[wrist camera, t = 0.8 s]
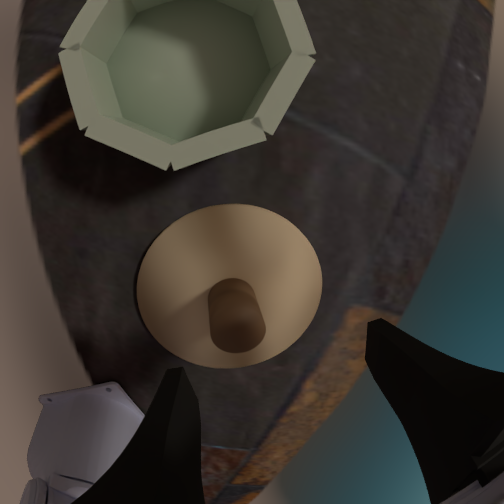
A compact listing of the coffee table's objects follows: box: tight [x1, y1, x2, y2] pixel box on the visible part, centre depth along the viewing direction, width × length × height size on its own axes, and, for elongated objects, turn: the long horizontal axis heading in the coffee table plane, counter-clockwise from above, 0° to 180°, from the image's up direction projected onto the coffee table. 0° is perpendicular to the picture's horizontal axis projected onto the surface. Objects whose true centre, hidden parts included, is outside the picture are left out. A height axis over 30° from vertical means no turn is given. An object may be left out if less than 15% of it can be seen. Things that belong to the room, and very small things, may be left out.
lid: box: [137, 204, 322, 368], centre depth 18 cm, size 12×12×4 cm
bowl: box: [58, 0, 316, 171], centre depth 12 cm, size 10×10×5 cm
